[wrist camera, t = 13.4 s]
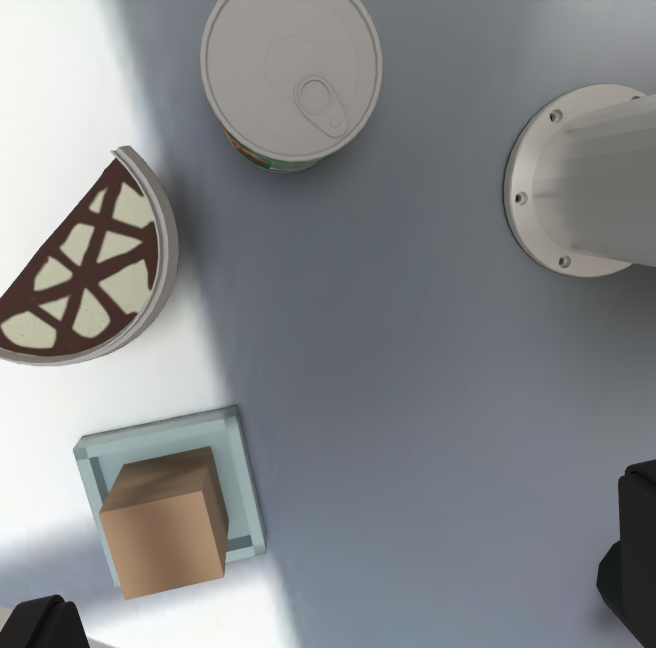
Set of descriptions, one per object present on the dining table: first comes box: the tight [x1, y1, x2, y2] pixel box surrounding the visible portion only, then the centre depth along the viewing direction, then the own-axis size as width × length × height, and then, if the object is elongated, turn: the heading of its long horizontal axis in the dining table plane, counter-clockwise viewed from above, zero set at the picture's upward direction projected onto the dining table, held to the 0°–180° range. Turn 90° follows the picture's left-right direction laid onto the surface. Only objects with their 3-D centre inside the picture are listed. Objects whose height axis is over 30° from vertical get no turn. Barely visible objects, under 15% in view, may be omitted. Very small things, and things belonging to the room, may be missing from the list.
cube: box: [98, 446, 229, 600], centre depth 35 cm, size 6×6×6 cm
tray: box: [73, 405, 266, 587], centre depth 37 cm, size 11×11×2 cm
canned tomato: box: [200, 0, 383, 173], centre depth 28 cm, size 8×8×11 cm
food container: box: [0, 146, 179, 366], centre depth 30 cm, size 12×6×10 cm, turn 138°
